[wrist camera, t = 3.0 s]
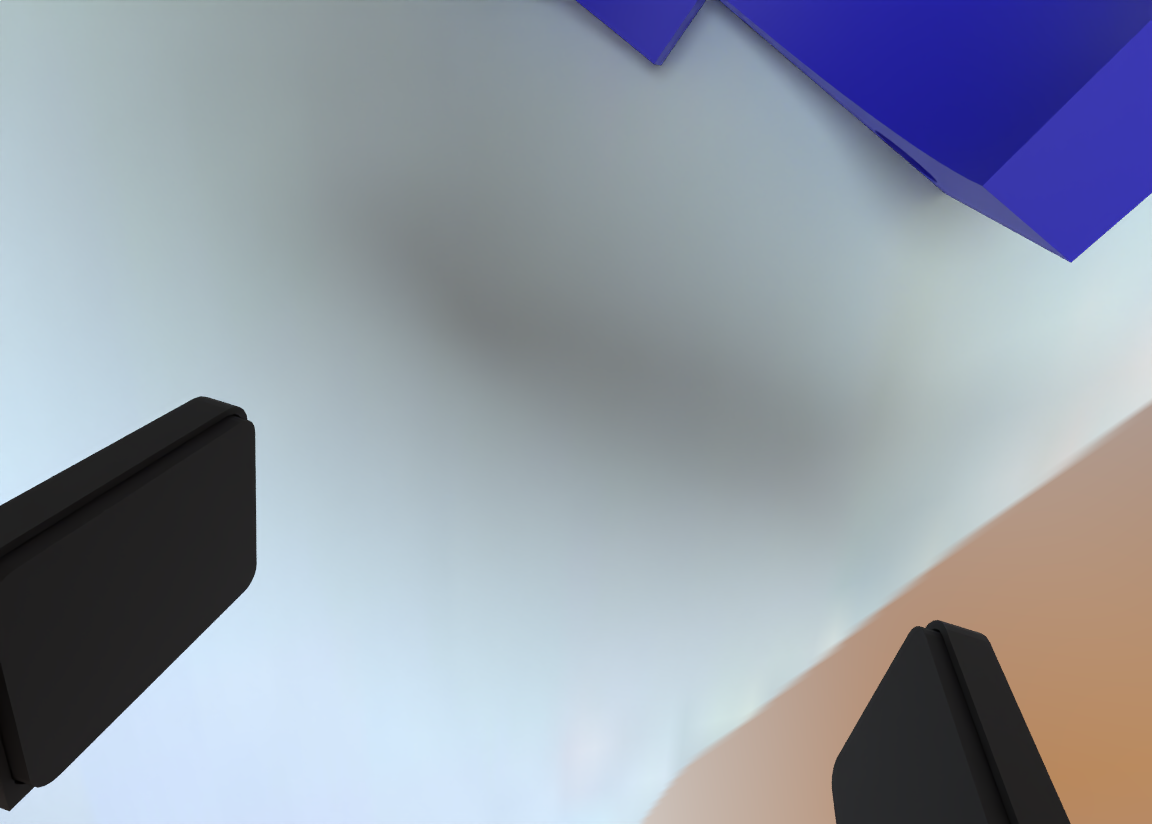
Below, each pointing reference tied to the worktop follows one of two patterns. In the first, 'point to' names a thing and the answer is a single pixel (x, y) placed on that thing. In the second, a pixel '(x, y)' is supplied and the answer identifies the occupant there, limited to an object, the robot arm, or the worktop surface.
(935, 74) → the cable clip
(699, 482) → the worktop surface
